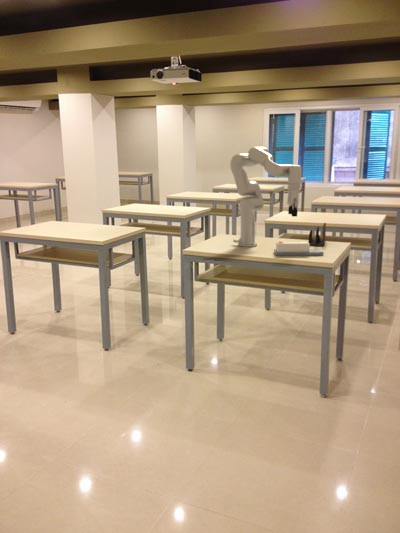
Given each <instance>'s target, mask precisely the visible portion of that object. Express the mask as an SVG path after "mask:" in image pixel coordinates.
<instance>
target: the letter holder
mask: <svg viewBox="0 0 400 533" xmlns="http://www.w3.org/2000/svg"><path fill="white" fill-rule="evenodd" d="M326 231H327V230H326V222H324V223H323V226H322V239H321V237H320V234H319V232H320V226H317V227H316V230H315V239H313V229H311V230H310V231H309V233H308V241H307V242H308V243H310V247H324V246H325V243H326V235H327V234H326Z"/></svg>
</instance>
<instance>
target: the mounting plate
mask: <svg viewBox="0 0 400 533" xmlns="http://www.w3.org/2000/svg"><path fill="white" fill-rule="evenodd" d="M273 253H274V255H275V256H276V257H296V256H298V257H299V256H300V257H301V256H302V257H303V256H305V257H309V256H314V257H315V256H316V257H317V256H324V253H325V252H324V251H322V250H321V249H319V248H310V249H309V252H277V251H276V248H275V249H273Z"/></svg>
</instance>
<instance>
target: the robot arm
mask: <svg viewBox="0 0 400 533" xmlns="http://www.w3.org/2000/svg"><path fill="white" fill-rule="evenodd" d="M229 164H230V170H231V173H232V175H233V178H234V182H235V185H236V186H235V187H236V190H237V193H238V195H239V196H241V197H243V198H242V199H241V200H240V201H239V206H238V207H239V212H240V237H239V238H238V239H235V238H234V239H233V243H237V245H238V246H239V247H244V248H251V247H257V246H258V243H257V242H255V240H256V217H255V214H254V212H259V211H261V210H263V208H264V204H265V203H264V198H263V195H262V190H261V188H260V185H259V183H258V182H257V181H255V180H249V177H248V173H247V172H246V171H245V169H244V168H245V167H247V168H248V167H255V166H257V165H260V166H261V167H263V169H264V171H265V172H266V173H268V175H271V176H273V177H275V178H287V190H288V191H287V200H286V201H287V202H286V203H287V206H288V210H287V211H288V212H287V213H288V215H291V217H298V210H299V209H298V206H299V203H300V202H299V201H300V200H299V198H300V196H299V195H300V190H301V189H302V188H301V184H302V166H301V165H298V164H287V163H285V164H281V163H279V164H278V163H276V162H274V156H273V155H272V154H270V152H269V149H268V148H267V147H265V146H253V147H251V148H249V150H248V151H247V153H243V152H242V153H236V154H234V155H233V156H232V157H231V160H230V163H229Z"/></svg>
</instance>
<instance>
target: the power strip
mask: <svg viewBox="0 0 400 533" xmlns="http://www.w3.org/2000/svg"><path fill="white" fill-rule="evenodd" d="M308 242H309V241H277V242H275V245H276V246H275V249H276V251H277V252H309V249H311V248H310V247H311V246H310V243H308Z"/></svg>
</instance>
